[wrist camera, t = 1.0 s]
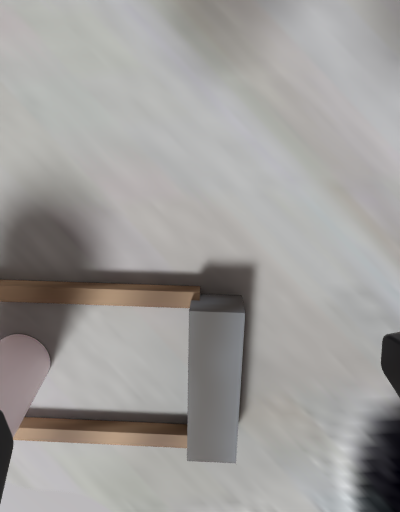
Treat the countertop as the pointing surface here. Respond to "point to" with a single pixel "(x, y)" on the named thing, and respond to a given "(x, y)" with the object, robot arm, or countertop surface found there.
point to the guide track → (199, 369)
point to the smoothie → (20, 376)
